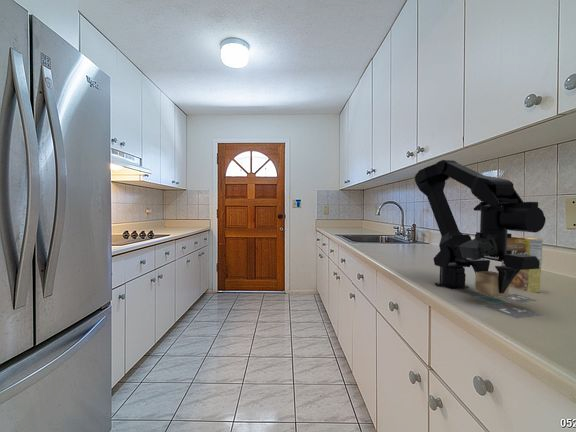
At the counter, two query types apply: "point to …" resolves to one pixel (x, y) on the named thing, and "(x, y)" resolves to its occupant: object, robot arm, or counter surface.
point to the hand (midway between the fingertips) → (491, 290)
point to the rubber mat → (491, 299)
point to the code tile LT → (513, 310)
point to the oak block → (488, 283)
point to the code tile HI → (518, 298)
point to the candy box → (528, 277)
